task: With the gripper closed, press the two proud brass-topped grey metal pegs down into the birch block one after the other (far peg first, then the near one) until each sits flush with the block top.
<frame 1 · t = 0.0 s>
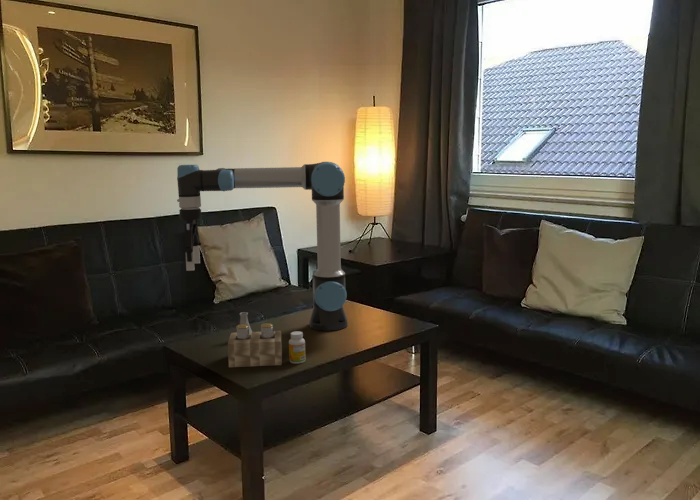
hand: (193, 266, 225), 28 cm above the table, fingers open, 13 cm apart
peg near: (267, 336, 207), point 8 cm above the table, slide at 4.0 cm
birch block: (256, 359, 208), on the table
supplement bottle: (297, 361, 207), on the table
peg far: (243, 337, 207), point 8 cm above the table, slide at 4.0 cm
flask: (244, 339, 232), on the table
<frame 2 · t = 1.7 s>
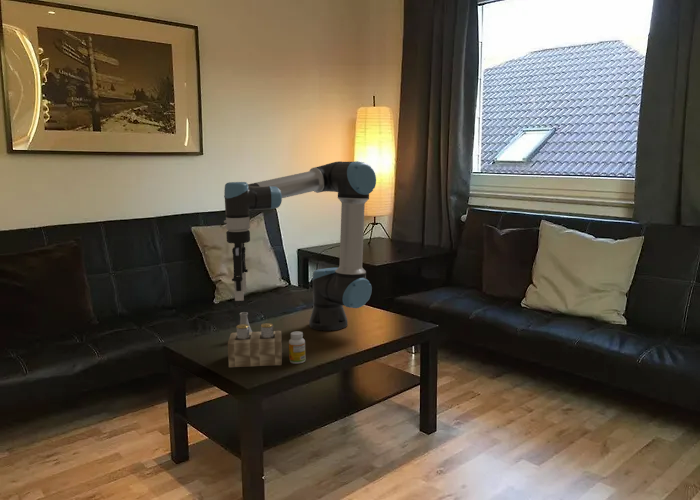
hand: (240, 296, 205), 22 cm above the table, fingers open, 11 cm apart
nothing on the table moved.
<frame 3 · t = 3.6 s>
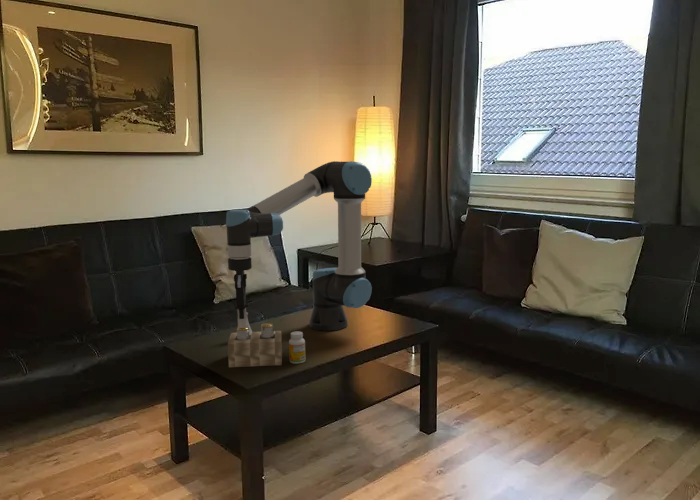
hand: (242, 327, 206), 12 cm above the table, fingers closed
peg far: (243, 339, 207), point 7 cm above the table, slide at 3.2 cm, touching gripper
everything else where it was.
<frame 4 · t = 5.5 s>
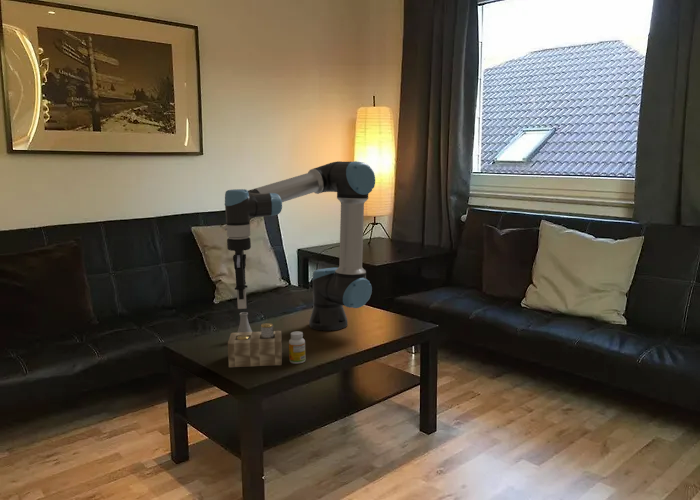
hand: (242, 308, 205), 18 cm above the table, fingers closed
peg far: (243, 348, 207), point 4 cm above the table, slide at 0.1 cm
everything else where it was.
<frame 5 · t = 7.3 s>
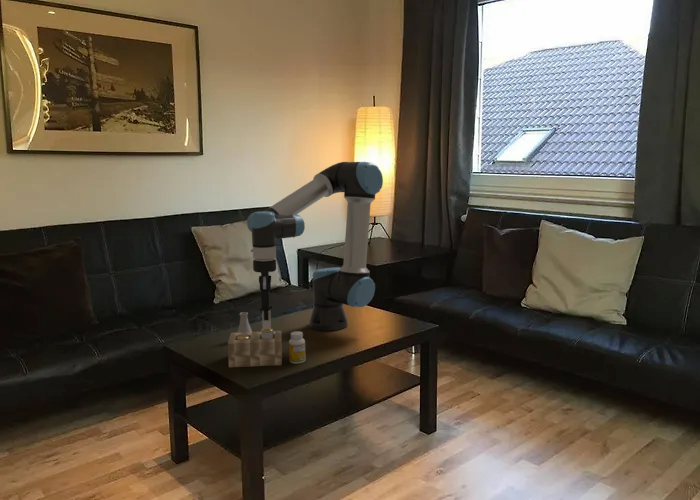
hand: (266, 328, 207), 11 cm above the table, fingers closed
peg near: (267, 340, 208), point 6 cm above the table, slide at 2.4 cm, touching gripper
everything else where it was.
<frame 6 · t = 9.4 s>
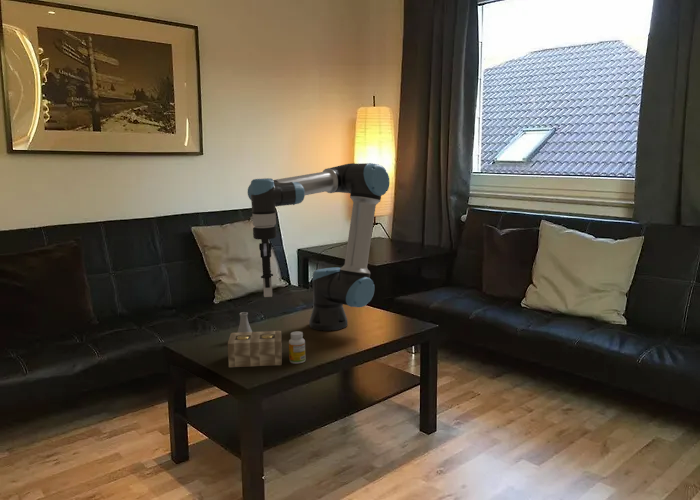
hand: (268, 296, 207), 21 cm above the table, fingers closed
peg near: (267, 347, 208), point 4 cm above the table, slide at 0.1 cm
everything else where it was.
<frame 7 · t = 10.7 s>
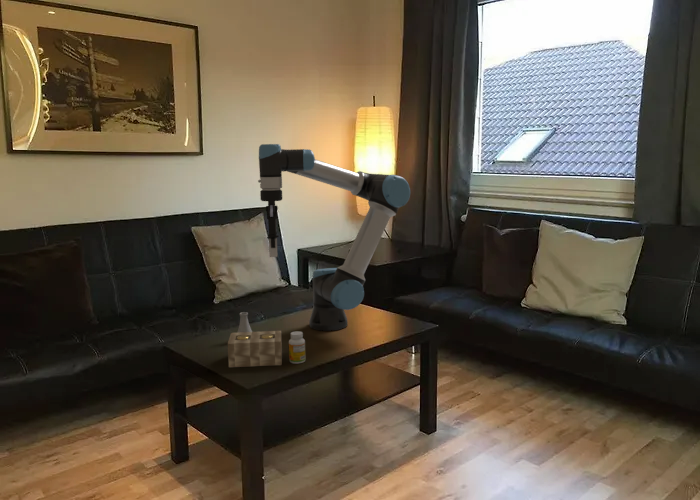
hand: (273, 256, 218), 32 cm above the table, fingers closed
nothing on the table moved.
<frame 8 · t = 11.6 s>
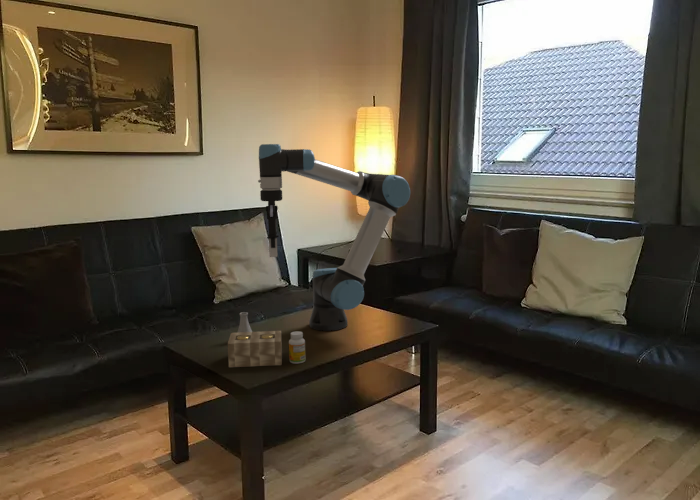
hand: (273, 256, 218), 32 cm above the table, fingers closed
nothing on the table moved.
at the end: peg far slide at 0.1 cm; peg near slide at 0.1 cm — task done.
